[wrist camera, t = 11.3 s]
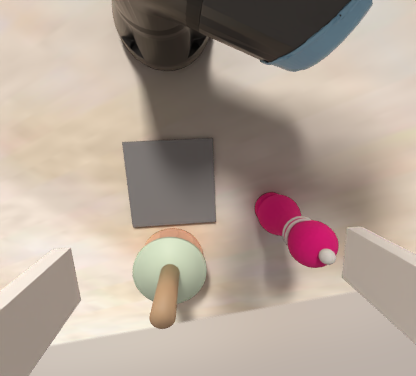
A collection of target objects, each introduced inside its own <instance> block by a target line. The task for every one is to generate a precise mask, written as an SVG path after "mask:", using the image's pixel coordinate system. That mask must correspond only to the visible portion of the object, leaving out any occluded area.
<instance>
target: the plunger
mask: <svg viewBox="0 0 416 376" xmlns="http://www.w3.org/2000/svg"><path fill="white" fill-rule="evenodd" d="M206 271H207V270H206V262H205V259H204V257H203V255H202V253H201V251H200V250H199V249H198V248H197V247H196V246H195V245H194V244H192V243H191V242H189V241H187V240H185V239H182V238H178V237H163V238H159V239H156V240H153V241H151V242H150V243H148V244H147V245H145V246H144V247H143V248H142V249H141V251H140V252H139V253H138V255H137V257H136V259H135V261H134V265H133V279H134V282H135V285H136V287H137V288H138V290H139V291H140V292H141V293H142V294H143V295H144V296H145V297H146V298H148V299H150V300H152V301H153V305H152V309H151V313H150V322H151V324H152V325H153V326H154V327H156V328H159V329H165V328H168V327H170V326H172V325H173V323H174V322H175V318H176V308H177V304H178V303H182V302H184V301H187V300H189V299H191V298H192V297H193V296H195V295H196V294H197V293H198V292H199V291H200V289H201V288H202V286H203V284H204V282H205V279H206Z"/></svg>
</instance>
